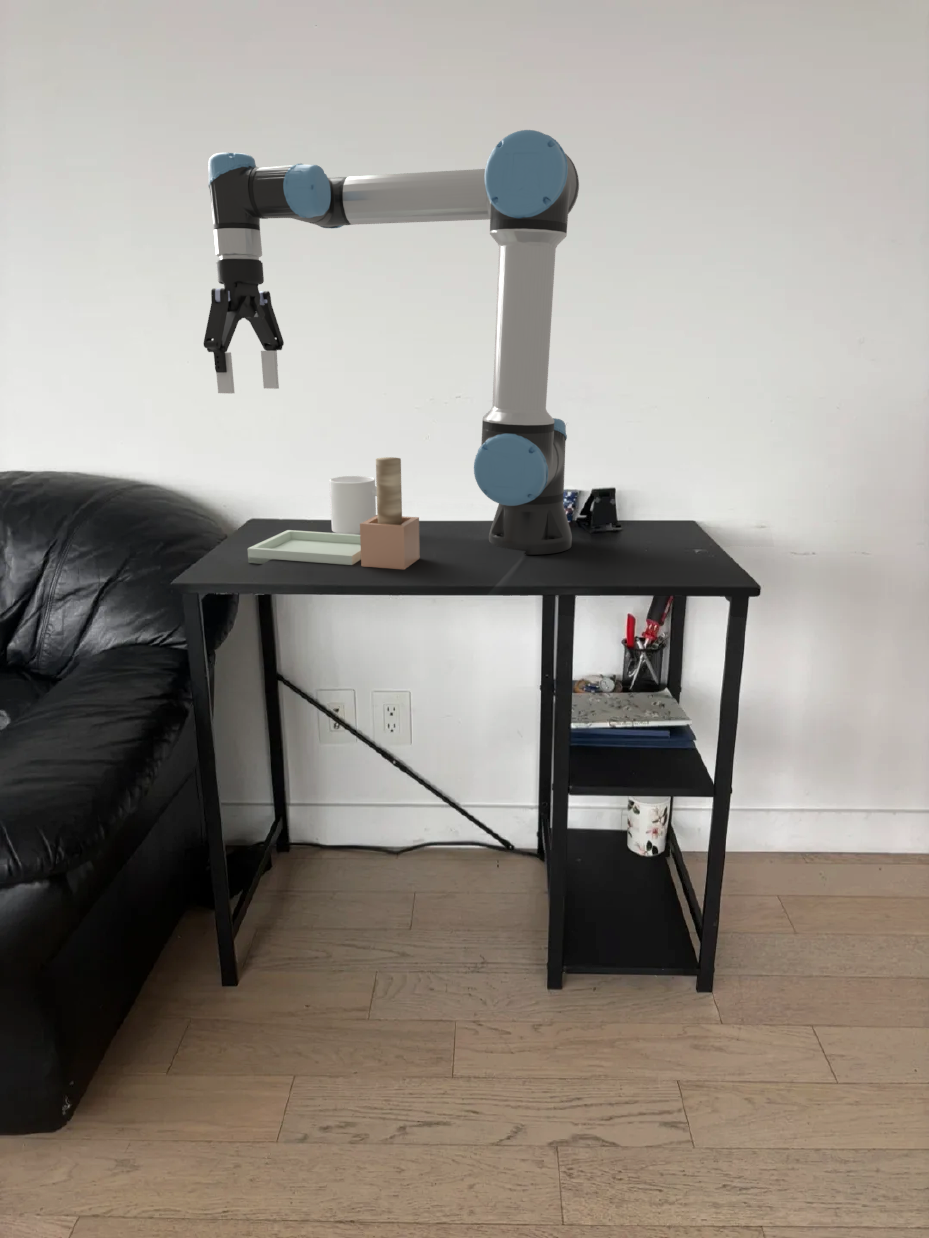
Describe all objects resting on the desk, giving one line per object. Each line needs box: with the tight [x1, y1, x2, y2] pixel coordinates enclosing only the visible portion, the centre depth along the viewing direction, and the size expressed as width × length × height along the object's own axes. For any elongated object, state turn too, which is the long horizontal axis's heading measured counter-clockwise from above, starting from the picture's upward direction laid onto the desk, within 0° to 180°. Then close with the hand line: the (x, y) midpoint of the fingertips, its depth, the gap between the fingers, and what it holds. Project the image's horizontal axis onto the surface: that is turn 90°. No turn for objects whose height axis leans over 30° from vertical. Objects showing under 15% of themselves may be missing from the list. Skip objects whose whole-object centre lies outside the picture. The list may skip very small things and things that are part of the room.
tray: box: [246, 529, 361, 566], centre depth 153 cm, size 19×15×2 cm
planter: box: [359, 514, 421, 570], centre depth 145 cm, size 8×8×8 cm
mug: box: [329, 475, 377, 535], centre depth 168 cm, size 9×12×11 cm
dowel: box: [375, 456, 403, 525], centre depth 143 cm, size 4×4×17 cm
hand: (249, 391), depth 152 cm, fingers open, 13 cm apart
